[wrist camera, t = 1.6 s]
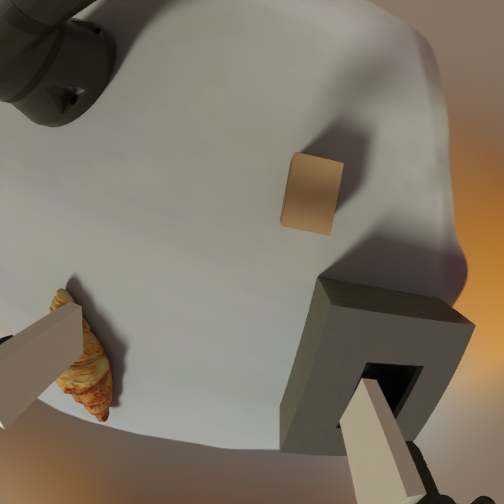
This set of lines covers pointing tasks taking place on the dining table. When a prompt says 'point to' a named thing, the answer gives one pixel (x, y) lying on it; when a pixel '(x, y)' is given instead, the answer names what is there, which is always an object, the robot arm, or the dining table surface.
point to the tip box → (368, 361)
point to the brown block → (311, 193)
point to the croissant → (87, 370)
